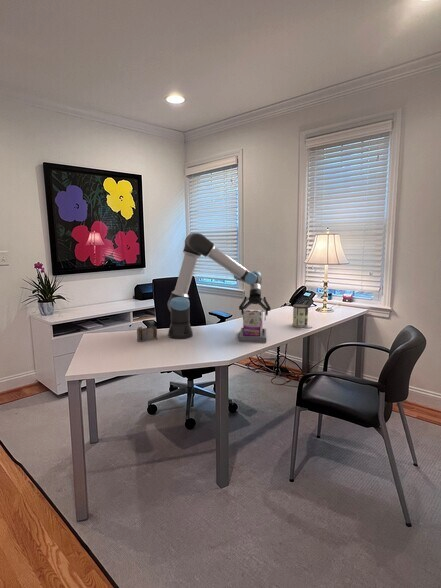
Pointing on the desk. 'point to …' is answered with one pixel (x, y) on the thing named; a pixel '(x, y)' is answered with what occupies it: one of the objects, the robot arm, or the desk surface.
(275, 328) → the desk surface
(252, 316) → the candy bar box
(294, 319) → the coffee can
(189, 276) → the robot arm
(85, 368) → the desk surface
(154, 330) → the ruin model on sheet
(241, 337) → the tray
